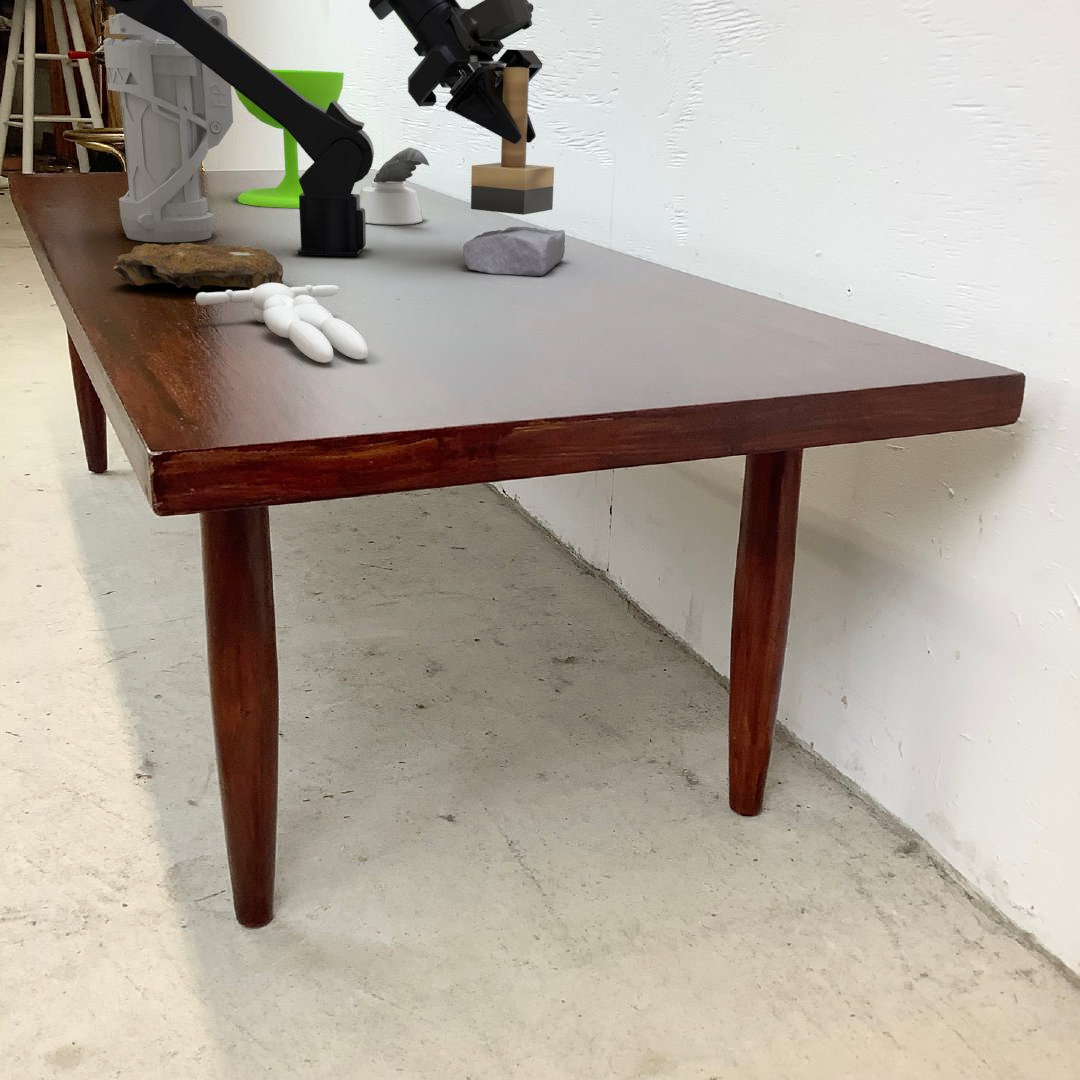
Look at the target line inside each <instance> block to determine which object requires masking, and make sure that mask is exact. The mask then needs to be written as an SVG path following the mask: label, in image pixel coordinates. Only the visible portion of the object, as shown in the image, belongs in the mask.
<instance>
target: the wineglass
mask: <svg viewBox="0 0 1080 1080" xmlns="http://www.w3.org/2000/svg"><path fill="white" fill-rule="evenodd" d="M269 69H270V68H269ZM270 70H271V71H272V72H273V73H275V74H276V75H277V76H278V77H280V78H281V79H282V80H283V81H285V82H286V83H287V84H288V85H290V86H291V87H292V88H293V89H295V90H296V91H297V92H298V93H300V94H301V95H302V96H303V97H304V98H306V99H307V100H309V101H310V102H312V103H314V104H316V105H318V106H320V107H322V108H324V109H326V110H327V109H328V107H329V104H330V103H331V102H332V101H334V100H335V101H336V102H337V103H338V102H339V99H340V96H341V93H342V91H343V86H344V75H345V72H342V71H341V72H340V71H339V72H338V71H324V70H303V69H302V70H301V69H300V70H298V69H273V68H271V69H270ZM233 89H234V91H235V93H236V96H237V98H238V100H239V102H241V104H242V105H243V107H244V108H245V109H246V110H247V112H248V113H249V114H251V115H252V116H253V117H255V118H256V119H257V120H258V121H260V122H261V123H264V124H266V125H268V126H270V127H272V128H275V129H279V130H282V132H283V134H282V135H283V152H284V153H283V154H284V155H283V156H284V177H283V179H282V180H281V182H280V183H279V184H278V185H277V186H276V187H267V188H264V187H263V188H255V189H249V190H245V191H243V192H242V193H241V194H240V195H239V196H238V198H237V202H238V203H240V204H244V205H249V206H254V207H255V206H256V207H265V208H281V209H288V208H289V209H299V195H300V194H302V193H303V190H302V188H301V185H300V183H299V179H300V177H301V176H300V175H299V157H298V156H299V155H298V142H297V141H296V140H295V139H294V137H293V136H292V135H291V134H290V133H289V131H288V130H287V129H286V128H284V127H283V126H282V125H281V124H279V123H278V122H277V121H276V120H274V119H273V118H272V117H271V116H269V115H268V114H267V113H265V112H264V111H263V110H262V109H260V108H259V107H258V106H257V105H255V104H254V103H253V102H252V101H250V100H249V99H248V98H246V97H245V96H244V95H243V94H241V93H240V92H239V91H238V90H236V89H235V88H234V87H233Z"/></svg>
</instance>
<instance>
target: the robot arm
mask: <svg viewBox="0 0 1080 1080" xmlns="http://www.w3.org/2000/svg"><path fill="white" fill-rule="evenodd" d="M103 1H104V2H105V3H106V4H107V5H108V6H109V7H111V8H112V9H114V10H115V11H118V12H119V13H120V14H122V13H123V14H125V15H127V16H128V17H130V18H132V19H134V20H136V21H137V22H139V23H141V24H143V25H145V26H147V27H149V28H151V29H153V30H155V31H157V32H159V33H161V34H162V35H164V36H166V37H168V38H170V39H172V40H174V41H175V42H177V43H178V44H179V45H181V46H182V47H183V48H184V49H186V50H187V51H188V52H189V53H191V54H192V55H193V56H194V57H196V58H197V59H198V60H200V61H201V62H202V63H203V64H205V65H206V66H207V67H208V68H210V69H211V70H212V71H213V72H215V73H216V74H217V75H219V76H220V77H221V78H222V79H224V80H225V81H226V82H227V83H229V84H230V85H231V88H233V89H234V88H235V89H236V90H238V91H239V92H240V93H241V94H243V95H244V96H245V97H246V98H248V99H249V100H250V101H252V102H253V103H254V104H255V105H257V106H258V107H259V108H260V109H262V110H263V111H264V112H265V113H267V114H268V115H269V116H271V117H272V118H273V119H274V120H276V121H277V122H278V123H279V124H281V125H282V126H283V127H284V128H286V129H287V130H288V131H289V133H290V134H291V135H292V136H293V137H294V139H295V140H296V141H297V145H299V146H300V147H301V148H302V150H303V151H304V153H306V155H307V156H308V157H309V158H310V159H311V160H312V161H313V163H312V164H311V165H310V166H309V167H308V168H307V169H306V170H305V171H304V172H303V173H302V175H301V176H299V177H300V179H299V183H300V185H301V188H302V190H303V193H302V194H300V195H299V208H298V209H299V228H300V230H299V231H300V248H299V249H298V250H297V254H298V255H300V256H301V255H302V256H327V257H330V256H331V257H332V256H333V257H335V256H336V257H358V256H359V255H360V254H361V252H362V251H363V250H364V248H365V247H366V245H367V229H366V227H367V226H366V225H367V223H365V209H364V208H360V193H352V192H353V190H354V186H355V184H356V183H358V182H359V181H362V180H363V179H365V178H366V176H368V174H369V172H370V170H371V169H372V167H373V163H374V156H375V150H374V144H373V141H372V139H371V138H370V136H369V135H368V134H367V133H366V131H364V130H363V129H364V128H365V122H363V121H359V120H357V119H355V118H354V117H352V116H350V115H349V114H348V112H346V110H345V109H344V108H343V107H342V105H340V104H339V103H338V102H336V101H335V100H334V101H332V102H331V103H330V104H329V107H328V109H327V110H326V109H324V108H322V107H320V106H318V105H316V104H314V103H312V102H310V101H309V100H307V99H306V98H304V97H303V96H302V95H301V94H300V93H298V92H297V91H296V90H295V89H293V88H292V87H291V86H290V85H288V84H287V83H286V82H285V81H283V80H282V79H281V78H280V77H278V76H277V75H276V74H275V73H273V72H272V71H271V70H270V68H268V67H267V66H266V65H265V64H264V63H262V62H261V61H260V60H258V59H257V58H256V57H255V56H254V55H253V54H251V53H250V52H248V51H247V50H246V49H245V48H244V47H243V46H242V45H240V44H239V43H237V41H235V40H233V38H231V37H230V36H229V35H228V36H227V35H226V34H225V33H224V32H222V31H221V30H220V29H219V28H217V27H216V26H215V25H214V24H212V23H211V22H210V21H209V20H208V19H206V18H205V17H204V16H203V15H201V14H200V13H199V12H198V11H197V10H196V9H195V7H194V6H195V5H194V4H193V3H192V2H191V1H190V0H103ZM368 1H369V2H368V7H369V9H370V10H371V12H372V13H373V14H374V15H375V17H376V18H377V20H379V21H383V20H384V19H385V18H386V17H388V16H389V15H390V14H391V13H392V12H394V13H395V14H396V16H397V17H398V18H399V20H400V21H401V22H402V24H403V25H404V26H405V27H406V29H407V30H408V32H409V33H410V34H411V36H412V37H413V39H414V40H415V41H416V42H417V43H416V44H415V46H414V47H413V49H412V50H414V52H415V53H416V55H417V57H423V59H422V60H420V62H419V63H418V64H417V66H416V67H415V68H414V69H413V71H412V72H411V73H410V75H408V77H407V92H408V94H409V95H410V97H411V98H412V99H413V101H414V102H415V103H416V105H417V107H434V106H435V105H436V104H437V95H436V93H434V91H435V89H437V87H438V86H439V85H440V87H441V88H444V89H446V88H448V89H449V88H450V90H449V94H450V95H451V96H452V97H451V98H450V99H449V101H448V102H447V103H446V105H445V107H444V108H445V109H446V110H447V111H448V112H453V113H454V114H456V115H458V116H460V117H462V118H464V119H466V120H468V121H470V122H472V123H474V124H477V125H478V126H480V127H482V128H484V129H486V130H487V131H490V132H491V133H493V134H495V135H497V136H498V137H500V138H501V139H502V138H504V139H506V140H508V141H510V142H511V143H513V144H517V143H518V142H519V141H520V140H521V139H522V135H521V133H520V131H519V129H518V127H517V125H516V123H515V121H514V120H513V118H512V116H511V115H510V113H509V111H508V109H507V108H506V106H505V104H504V103H503V71H504V67H515V68H529V83H530V82H531V81H532V79H533V78H534V77H535V76H536V75H537V74H538V73H539V72H540V71H541V69H542V68H543V62H542V61H541V60H540V58H539V56H538V55H537V54H536V53H535V51H534V50H533V49H532V50H530V49H513V48H512V49H509V48H508V49H506V50H505V51H504V53H503V54H502V55H501V56H500V57H499V58H498V60H495V59H494V58H493V57H494V56H495V55H498V54H499V53H500V52H501V51H502V50H503V48H504V47H505V45H504V43H503V42H502V40H504V39H507V38H508V37H510V36H512V35H514V34H515V33H517V32H519V31H522V30H524V31H525V30H527V29H529V28H531V27H532V26H533V21H532V18H533V14H532V13H533V11H534V5H533V3H531V2H529V1H528V0H482V1H480V2H479V3H477V4H475V5H473V6H472V7H470V8H463V7H462V6H461V5H460V4H459V2H458V1H457V0H368ZM235 89H234V90H235ZM535 138H536V131H535V129H534V126H533V122H532V120H531V117H530V115H529V113H528V115H527V143H529V144H530V143H532V142H533V140H534V139H535Z"/></svg>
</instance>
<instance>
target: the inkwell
mask: <svg viewBox="0 0 1080 1080" xmlns="http://www.w3.org/2000/svg"><path fill="white" fill-rule="evenodd" d="M422 164H423V165H426V166H430V163H429V161H428V159H427V157H426V156H425V154H424V153H423V152H422V151H421V150H420V149H419V150H418V149H417V148H414V147H407V148H405V149H402V150H400V151H399V152H397V153H396V154H394V155H393V156H392V157H391V158H390V159H388V160H387V161H385V163H383V164H382V166H381V167H380V169H378V170H377V172H376V174H375V177H374V179H372V181H370V185H371V186H366V187H363V188H362V189H361V190H360V193H359V194H360V208H364V209H365V223H366V224H372V225H373V224H374V225H389V226H390V225H393V226H395V225H398V226H399V225H414V224H419V223H422V221H423V220H424V218H423V217H424V216H423V213H422V209H421V205H420V201H419V197H418V194H417V191H416V190H415V189H414V188H411V187H408V186H406V182H407V179H409V178H411V177H413V175H414V174H413V173H412V172H415V171H416V170H417V166H420V165H422Z"/></svg>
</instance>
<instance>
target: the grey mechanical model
mask: <svg viewBox="0 0 1080 1080" xmlns="http://www.w3.org/2000/svg"><path fill="white" fill-rule="evenodd" d="M193 6H194V7H195V9H196V10H197V11H198V12H199V13H200V14H201V15H203V16H204V17H205V18H206V19H208V20H209V21H210V22H211V23H212V24H214V25H215V26H216V27H217V28H219V29H220V30H221V31H222V32H224V33H225V34H226V35H227V36H229V33H228V30H229V29H228V19H227V17H226V16H225V14H224V13H223V12H221V11H219V10H215V9H213V8H223V5H193ZM108 26H109V34H110V35H126V37H123V38H112V37H106V38H105V39H104V40H103V51H104V63H105V68H106V80H107V90H108V91H114V92H117V93H119V97H120V108H121V109H120V110H121V118H122V119H121V120H122V130H123V131H122V132H123V139H124V150H125V160H126V162H125V163H126V174H127V182H128V190H127V192H126V193H125V194H124V195H123V196H121V197H119V198H118V204H119V214H120V220H121V224H122V228H123V231H124V234H125V236H126V238H127V239H129V240H133V241H139V242H148V243H149V242H150V243H191V242H198V241H204V240H208V239H210V238H211V237H212V234H213V229H214V217H215V216H214V213H212V212H209V207H208V198H207V197H204V196H202V195H203V194H202V182H201V168H200V167H201V165H202V163H203V162H204V160H205V158H206V156H207V154H208V152H209V150H211V149H213V148H215V147H217V146H219V144H220V143H221V142H222V140H224V137H225V136H226V134H227V133H228V132H229V130H230V128H232V125H233V124H234V114H233V113H234V112H233V97H232V95H233V94H232V86H231V85H230V84H229V83H227V82H226V81H225V80H224V79H222V78H221V77H220V76H219V75H217V74H216V73H215V72H213V71H212V70H211V69H210V68H208V67H207V66H206V65H205V64H203V63H202V62H201V61H200V60H198V59H197V58H196V57H194V56H193V55H192V54H191V53H189V52H188V51H187V50H186V49H184V48H183V47H182V46H181V45H179V44H178V43H177V42H175V41H174V40H172V39H170V38H168V37H166V36H164V35H162V34H161V33H159V32H157V31H155V30H153V29H151V28H149V27H147V26H145V25H143V24H141V23H139V22H137V21H136V20H134V19H132V18H130V17H128V16H127V15H125V14H123V13H116V14H111V15H110V14H109V15H108Z"/></svg>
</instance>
